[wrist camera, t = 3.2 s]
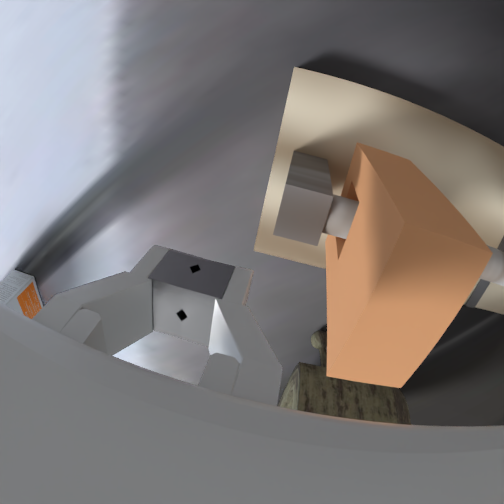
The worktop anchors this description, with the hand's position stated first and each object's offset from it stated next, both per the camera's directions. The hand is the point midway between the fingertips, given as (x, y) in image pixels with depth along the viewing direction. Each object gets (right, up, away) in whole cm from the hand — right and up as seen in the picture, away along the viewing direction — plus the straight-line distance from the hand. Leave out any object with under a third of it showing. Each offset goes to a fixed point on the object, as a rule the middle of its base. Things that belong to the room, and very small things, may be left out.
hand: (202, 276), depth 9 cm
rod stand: (+16, +4, +10) cm, 19 cm away
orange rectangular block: (+8, +3, +7) cm, 11 cm away
